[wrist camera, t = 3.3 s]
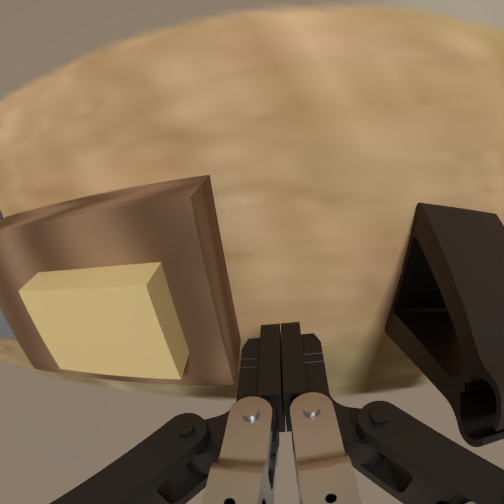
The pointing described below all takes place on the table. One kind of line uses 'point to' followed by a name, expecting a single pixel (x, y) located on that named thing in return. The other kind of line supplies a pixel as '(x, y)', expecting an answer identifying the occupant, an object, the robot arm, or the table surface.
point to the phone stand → (456, 313)
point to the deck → (126, 253)
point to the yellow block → (109, 320)
